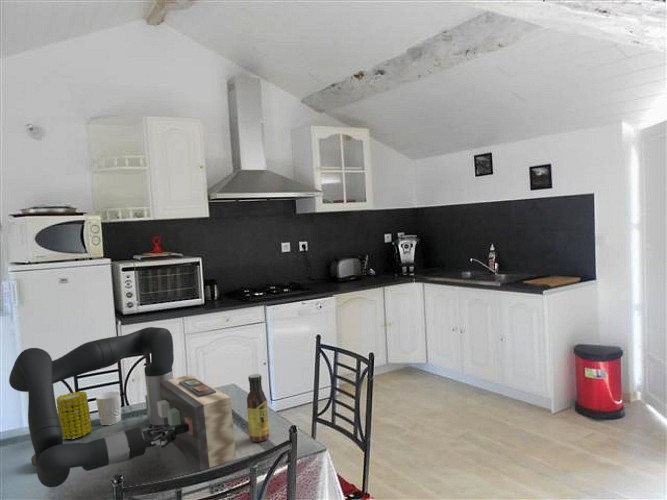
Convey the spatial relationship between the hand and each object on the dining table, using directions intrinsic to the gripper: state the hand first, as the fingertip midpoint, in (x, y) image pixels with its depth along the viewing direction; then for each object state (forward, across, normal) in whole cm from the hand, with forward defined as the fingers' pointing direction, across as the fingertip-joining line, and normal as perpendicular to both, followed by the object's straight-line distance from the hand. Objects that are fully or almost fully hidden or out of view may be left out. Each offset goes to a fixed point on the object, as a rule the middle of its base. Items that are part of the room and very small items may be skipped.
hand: (187, 426), depth 146 cm
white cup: (-11, -53, -11) cm, 56 cm away
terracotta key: (+1, 0, -2) cm, 2 cm away
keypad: (+6, -10, -11) cm, 16 cm away
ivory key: (-1, -20, -2) cm, 20 cm away
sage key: (-1, -10, -2) cm, 10 cm away
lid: (-32, -31, -11) cm, 46 cm away
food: (-22, -50, -11) cm, 56 cm away
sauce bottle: (+22, -2, -11) cm, 25 cm away
